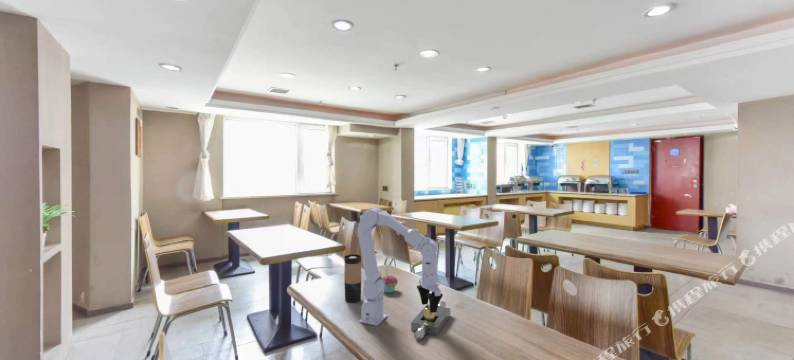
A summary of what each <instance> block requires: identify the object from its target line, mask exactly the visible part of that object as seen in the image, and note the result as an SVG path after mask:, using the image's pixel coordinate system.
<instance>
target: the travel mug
mask: <svg viewBox="0 0 794 360" xmlns="http://www.w3.org/2000/svg"><path fill="white" fill-rule="evenodd" d="M343 270H344V274H343V275H344V278H343V279H344V282H343V283H344V299H345V300H344V301H345V302H346V303H350V304H354V303H358V302H360V301H361V300H362V255H360V254H354V253H353V254H348V255H344V269H343Z"/></svg>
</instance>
